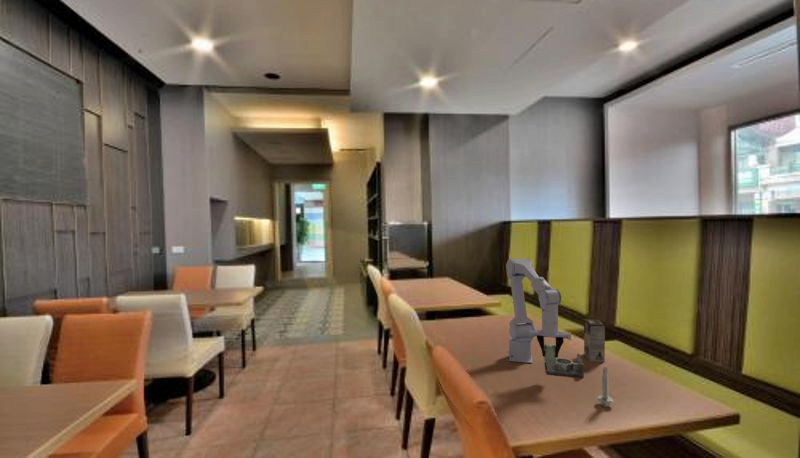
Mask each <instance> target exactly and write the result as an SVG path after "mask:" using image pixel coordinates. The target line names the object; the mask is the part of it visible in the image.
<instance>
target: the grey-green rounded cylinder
mask: <svg viewBox="0 0 800 458" xmlns="http://www.w3.org/2000/svg"><path fill="white" fill-rule="evenodd" d="M544 353H545V357H544V356H543V357H544V358H543V359H544V362H545V363H546V362H547V363H556V344H551V343H546V344H545V343H544Z"/></svg>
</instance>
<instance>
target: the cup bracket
mask: <svg viewBox="0 0 800 458" xmlns="http://www.w3.org/2000/svg"><path fill="white" fill-rule="evenodd" d="M545 365H546V372H547V375H557V376H566V377H572V378H573V377H574V378H575V377H576V378H585V377H584V374H585V373H584V372H585V370H584V363H583V360H582V357H581V355H580V353H577V354H576V362H574V361H573V360H572V359H569V358H564V357H558V358H556V363H547V362H545Z"/></svg>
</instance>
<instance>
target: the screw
mask: <svg viewBox="0 0 800 458" xmlns="http://www.w3.org/2000/svg"><path fill="white" fill-rule="evenodd" d="M601 380H602V381H601V385H602V386H601V389H602V390H601V394H599V395H598V396H596V399H597V401H598V402H600V405H601V406H602V407H604V408H610V405H611V404H613V403H614V399H613V398H612V397H611V396H609V374H608V367H606V366H604V367H603V368H602V376H601Z"/></svg>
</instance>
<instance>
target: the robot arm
mask: <svg viewBox="0 0 800 458" xmlns="http://www.w3.org/2000/svg"><path fill="white" fill-rule="evenodd" d="M533 264H534V263H533V262H532V260H531V259H530V258H516V259H515V258H514V259H513V258H510V259H509V258H508V260H507V262H506V264H505V267H506V268H505V269H506V270H505V271H506V275H507V278H508V280H509V281H510V289H511V294H512V295H511V296H512V303H513V311H514V312H513V313H514V317H513V318H512V319H511V320H510V321H509V329H508V331H509V335H510V338H509V337H508V357H509V358H508V359H509V361H510V362H517V363H526V364H533V356H532V341H533V338H535V337H536V339H537V342H538V343H539V347H540V349H541V353H542V354H541V355H542V357H545V353H544V345H545V338H550V339H552V338H553V339H555V346H556V358H559V352H560V350H561V347H562V345H563V344H564V339H566V340H572V335H571V332H563V331H559V305H560V303H561V302H562V295H561V292H560V290H559V289H558V288H555V287H552V286H551V285H550V284H549V283H548V282H547V280H546V279H545V278H544V277H543V276H539V275H538V274H537V271H535V269H534V265H533ZM525 278H527V279H528V280H529V281H530V282H531V283H530V286H531V287H532V290H533V291H534V292H535V293H536V294H537V296H538V301H539V307H540V309H541V329H536V327H535V325H534V321H533V319H532V318H530V317H529V316H528V314H527V308H526V307H527V306H526V300H525V299H526V298H525V292H524V284H523V283H524V282H523V280H524V279H525Z"/></svg>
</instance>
